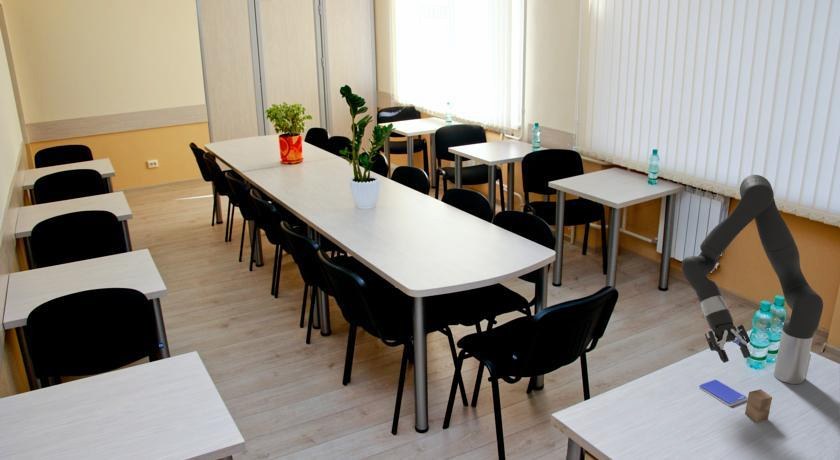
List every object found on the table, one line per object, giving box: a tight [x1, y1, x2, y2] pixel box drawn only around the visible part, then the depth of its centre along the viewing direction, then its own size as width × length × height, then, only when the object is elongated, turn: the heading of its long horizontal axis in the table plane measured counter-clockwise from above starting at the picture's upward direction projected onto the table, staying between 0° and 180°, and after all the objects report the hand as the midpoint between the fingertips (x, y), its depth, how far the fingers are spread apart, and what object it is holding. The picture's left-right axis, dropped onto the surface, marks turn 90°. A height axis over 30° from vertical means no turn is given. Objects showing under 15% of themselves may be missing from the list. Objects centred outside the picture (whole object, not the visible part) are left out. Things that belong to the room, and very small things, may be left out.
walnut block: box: [744, 388, 773, 423], centre depth 214 cm, size 5×5×8 cm
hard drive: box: [698, 379, 748, 407], centre depth 227 cm, size 2×8×12 cm
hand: (737, 359), depth 220 cm, fingers open, 8 cm apart
